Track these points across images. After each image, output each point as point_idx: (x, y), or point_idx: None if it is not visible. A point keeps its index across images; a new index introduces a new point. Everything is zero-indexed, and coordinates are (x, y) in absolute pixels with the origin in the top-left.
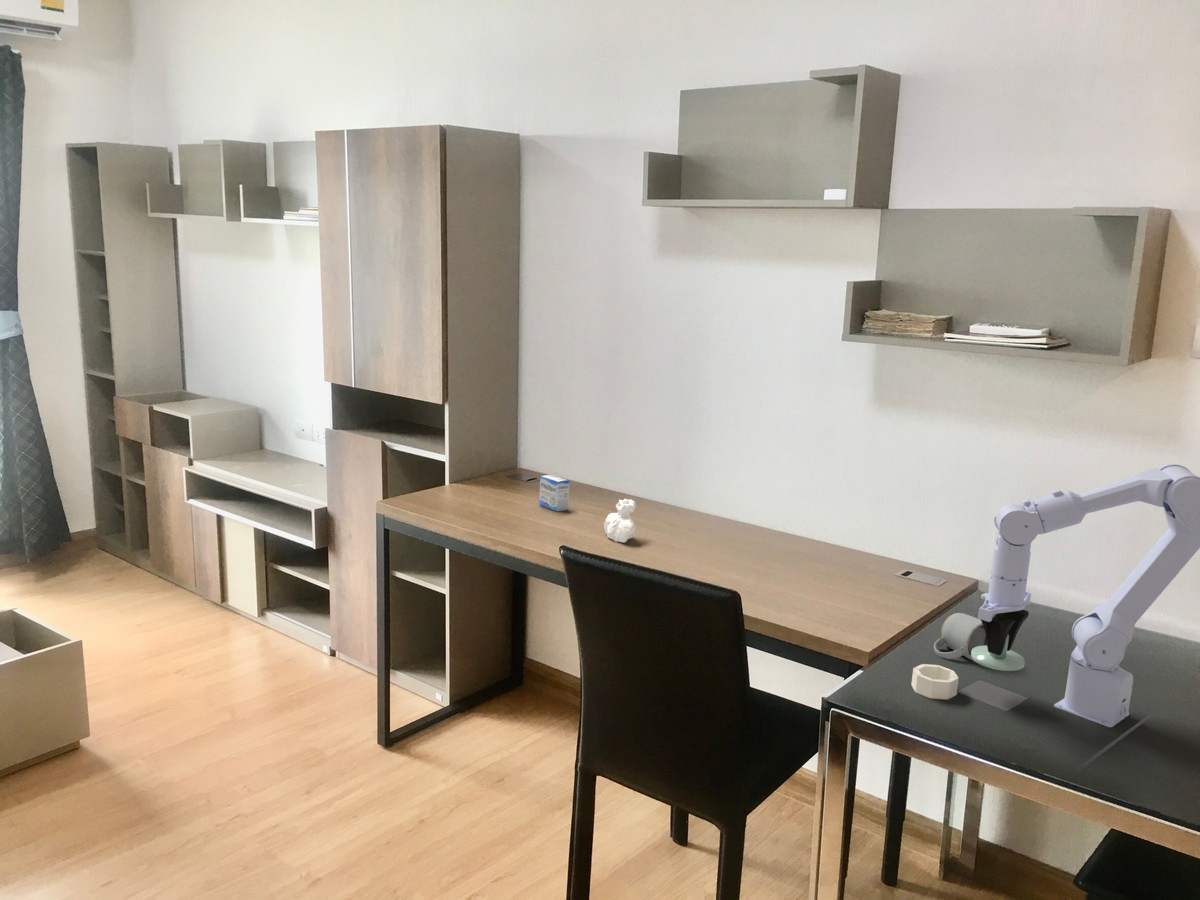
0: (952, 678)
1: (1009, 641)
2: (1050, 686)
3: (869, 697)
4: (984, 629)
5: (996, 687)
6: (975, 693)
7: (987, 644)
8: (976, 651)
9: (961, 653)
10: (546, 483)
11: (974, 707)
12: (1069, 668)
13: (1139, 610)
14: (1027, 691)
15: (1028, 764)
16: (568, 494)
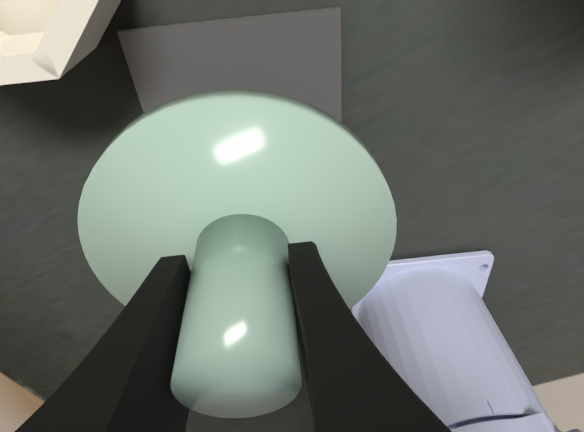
0: (14, 64)
1: (301, 351)
2: (519, 182)
3: None
4: (42, 405)
5: (329, 102)
6: (190, 90)
7: (137, 292)
8: (160, 157)
9: None
10: None
11: (104, 146)
12: (429, 381)
13: None
14: (413, 166)
15: (15, 364)
16: None
